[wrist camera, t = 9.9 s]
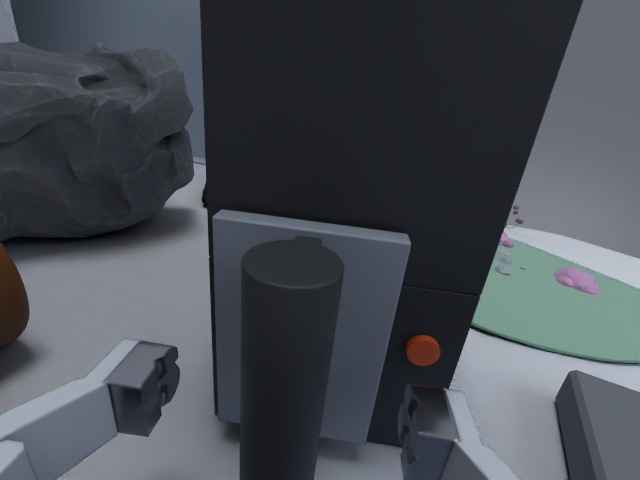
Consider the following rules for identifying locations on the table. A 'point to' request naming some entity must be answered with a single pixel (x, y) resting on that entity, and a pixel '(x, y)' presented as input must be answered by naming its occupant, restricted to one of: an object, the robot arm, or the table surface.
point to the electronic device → (599, 428)
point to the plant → (558, 305)
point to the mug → (11, 300)
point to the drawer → (300, 333)
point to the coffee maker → (384, 141)
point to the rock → (89, 139)
